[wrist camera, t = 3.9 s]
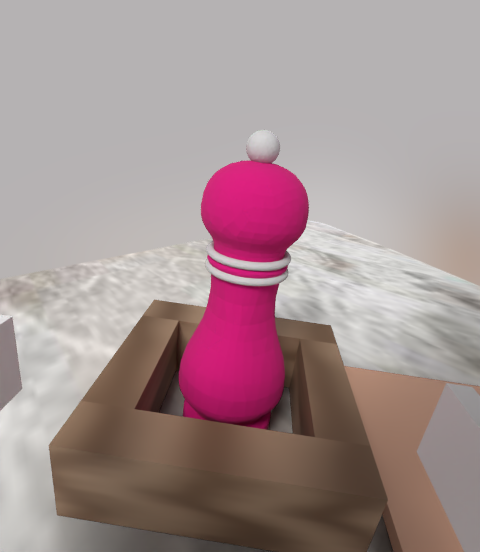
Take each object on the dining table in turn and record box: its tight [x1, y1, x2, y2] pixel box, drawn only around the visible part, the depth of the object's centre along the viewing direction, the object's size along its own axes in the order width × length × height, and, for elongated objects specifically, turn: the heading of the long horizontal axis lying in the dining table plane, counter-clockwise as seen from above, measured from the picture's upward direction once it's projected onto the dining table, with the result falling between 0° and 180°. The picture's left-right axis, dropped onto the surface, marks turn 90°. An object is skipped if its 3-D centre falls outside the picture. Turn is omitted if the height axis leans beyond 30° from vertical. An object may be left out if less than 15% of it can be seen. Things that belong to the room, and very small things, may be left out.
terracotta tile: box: [344, 366, 480, 552], centre depth 25 cm, size 16×16×1 cm
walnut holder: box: [49, 300, 388, 552], centre depth 24 cm, size 16×16×5 cm
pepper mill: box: [179, 130, 309, 430], centre depth 22 cm, size 7×7×20 cm
